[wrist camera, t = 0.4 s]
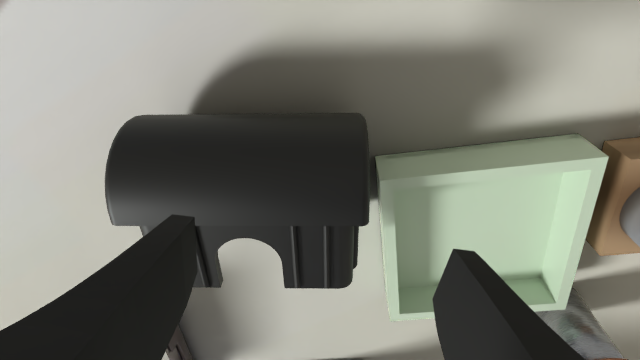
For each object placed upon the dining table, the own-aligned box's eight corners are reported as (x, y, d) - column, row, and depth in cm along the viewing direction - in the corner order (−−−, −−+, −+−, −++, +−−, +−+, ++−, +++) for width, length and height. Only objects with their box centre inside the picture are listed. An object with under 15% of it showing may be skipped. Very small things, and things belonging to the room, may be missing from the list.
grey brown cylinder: (578, 319, 26) (639, 412, 21) (518, 323, 27) (563, 416, 21) (591, 278, 24) (663, 370, 19) (526, 283, 25) (578, 374, 19)
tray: (544, 277, 24) (565, 309, 22) (385, 289, 25) (389, 321, 23) (577, 133, 19) (608, 156, 17) (374, 156, 20) (380, 180, 18)
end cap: (361, 89, 18) (373, 153, 12) (356, 208, 22) (365, 300, 16) (158, 91, 19) (80, 154, 13) (188, 208, 22) (136, 298, 17)
